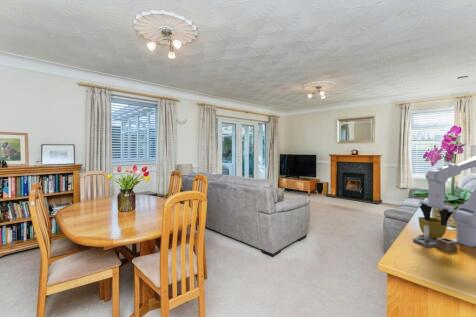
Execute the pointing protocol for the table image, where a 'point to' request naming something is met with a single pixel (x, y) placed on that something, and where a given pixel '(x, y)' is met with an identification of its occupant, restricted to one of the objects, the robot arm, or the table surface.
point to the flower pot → (433, 227)
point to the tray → (421, 241)
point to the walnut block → (446, 244)
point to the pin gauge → (426, 234)
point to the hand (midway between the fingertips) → (435, 222)
